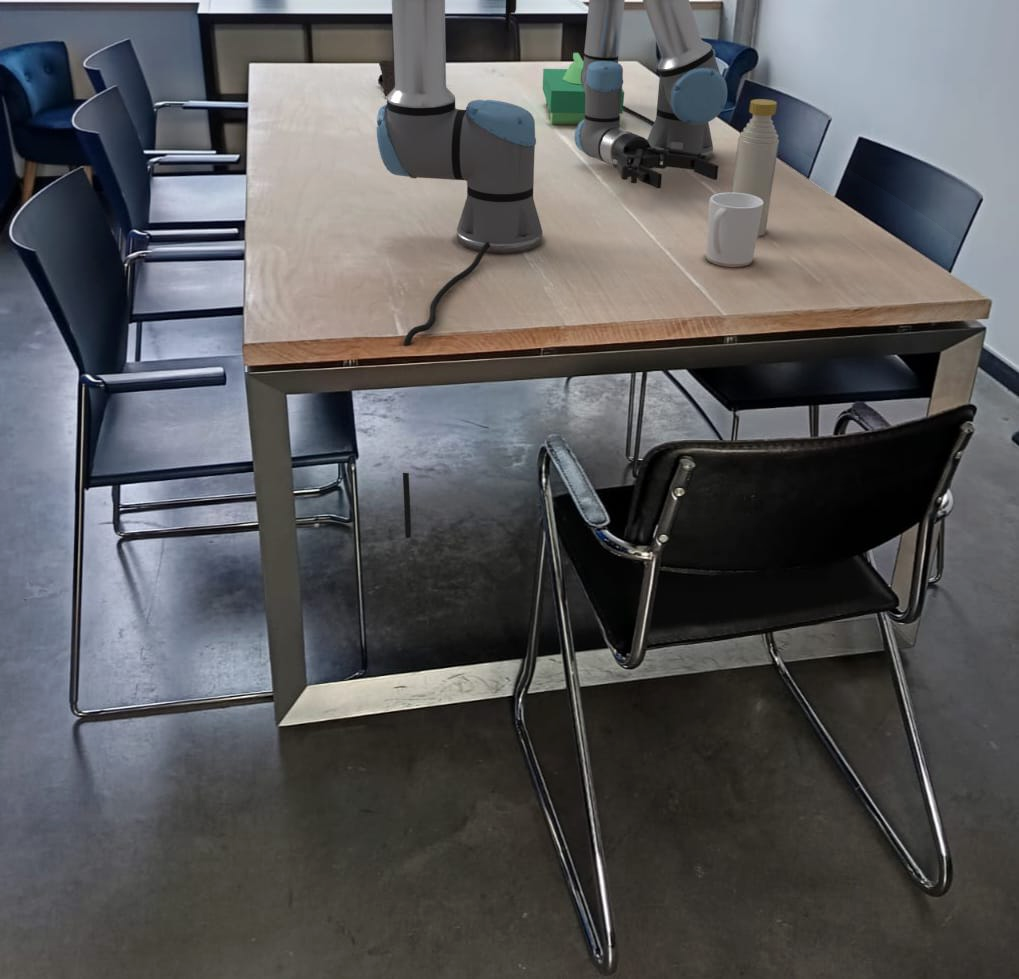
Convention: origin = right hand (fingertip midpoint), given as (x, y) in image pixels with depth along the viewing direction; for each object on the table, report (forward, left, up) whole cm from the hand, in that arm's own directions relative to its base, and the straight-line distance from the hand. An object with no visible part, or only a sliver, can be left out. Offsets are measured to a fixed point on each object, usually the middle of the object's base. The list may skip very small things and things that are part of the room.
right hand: (688, 177), depth 212 cm
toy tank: (-82, -9, -6) cm, 83 cm away
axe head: (-107, -53, -6) cm, 120 cm away
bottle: (+14, +8, -6) cm, 18 cm away
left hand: (-32, -39, +22) cm, 55 cm away
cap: (+15, +8, +17) cm, 24 cm away
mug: (+31, 0, -6) cm, 31 cm away
